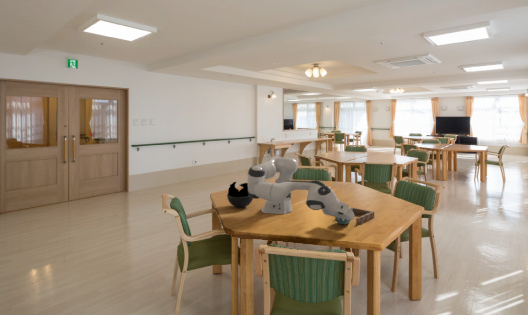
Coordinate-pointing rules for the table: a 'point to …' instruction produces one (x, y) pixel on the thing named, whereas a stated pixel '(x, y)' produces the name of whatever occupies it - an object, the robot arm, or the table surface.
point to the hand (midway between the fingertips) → (342, 219)
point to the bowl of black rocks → (239, 195)
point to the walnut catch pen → (362, 215)
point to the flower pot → (343, 221)
